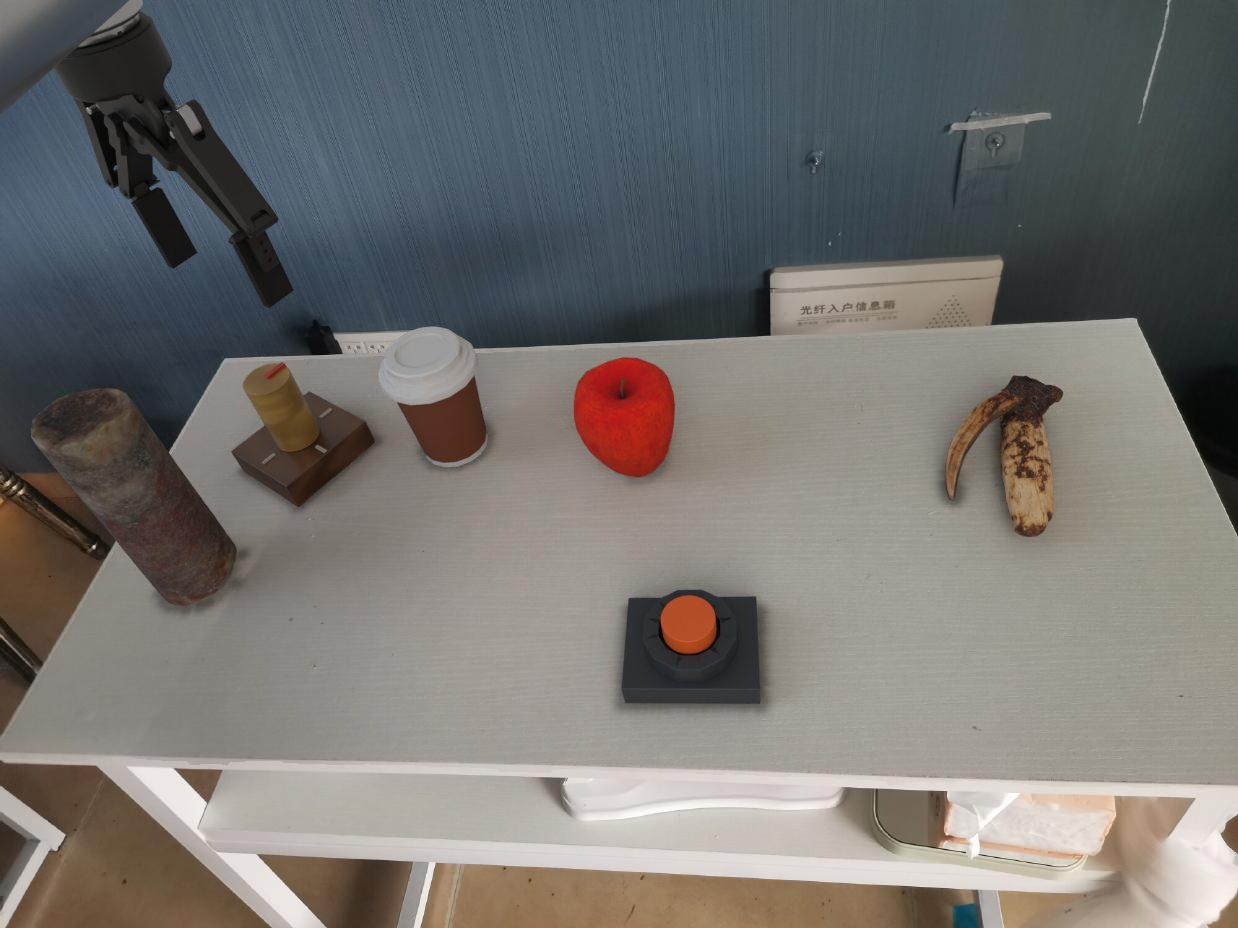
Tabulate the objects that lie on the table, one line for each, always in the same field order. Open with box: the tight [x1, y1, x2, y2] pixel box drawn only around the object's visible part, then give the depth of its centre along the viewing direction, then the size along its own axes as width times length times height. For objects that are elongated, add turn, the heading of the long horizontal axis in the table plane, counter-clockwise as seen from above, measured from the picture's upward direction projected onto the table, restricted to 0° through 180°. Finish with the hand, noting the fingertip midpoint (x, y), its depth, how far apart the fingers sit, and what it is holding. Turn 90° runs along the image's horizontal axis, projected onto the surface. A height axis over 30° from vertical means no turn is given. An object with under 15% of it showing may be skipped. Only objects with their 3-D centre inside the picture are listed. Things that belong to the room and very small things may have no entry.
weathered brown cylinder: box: [30, 387, 238, 607], centre depth 73 cm, size 8×7×20 cm
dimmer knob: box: [242, 361, 320, 452], centre depth 84 cm, size 4×4×8 cm
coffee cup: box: [377, 325, 489, 468], centre depth 83 cm, size 9×9×12 cm
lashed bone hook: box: [944, 374, 1064, 538], centre depth 75 cm, size 9×5×18 cm
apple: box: [573, 356, 676, 478], centre depth 79 cm, size 9×9×11 cm
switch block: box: [621, 588, 761, 705], centre depth 67 cm, size 10×8×4 cm
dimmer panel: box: [230, 390, 376, 508], centre depth 88 cm, size 10×9×3 cm
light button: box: [661, 595, 717, 654], centre depth 65 cm, size 4×4×2 cm
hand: (229, 278), depth 77 cm, fingers open, 13 cm apart
